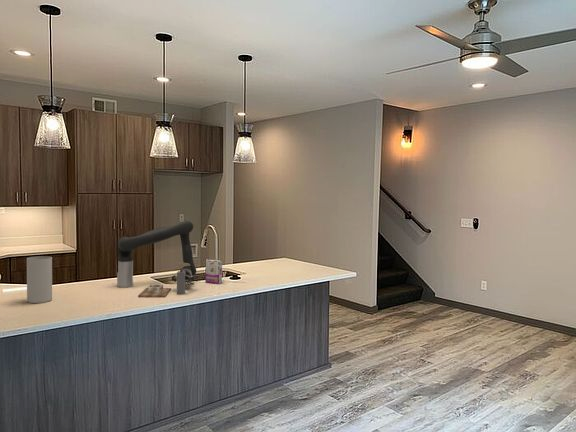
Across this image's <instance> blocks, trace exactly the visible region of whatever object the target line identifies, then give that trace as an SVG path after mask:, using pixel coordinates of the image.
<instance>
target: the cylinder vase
mask: <svg viewBox="0 0 576 432" xmlns="http://www.w3.org/2000/svg"><path fill="white" fill-rule="evenodd" d="M52 300H53V257H52V256H48V255H45V256H44V255H41V256H40V255H39V256H29V257H27V258H26V301H27V303H29V304H44V303H48V302H51V301H52Z"/></svg>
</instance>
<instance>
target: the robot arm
mask: <svg viewBox="0 0 576 432" xmlns="http://www.w3.org/2000/svg"><path fill="white" fill-rule="evenodd" d="M193 230H194V224H193V223H192V222H191V221H189V220H183V221H180V222H179V223H176V224H174V225H168V226H162V227H158V228H153V229H150V230H148V231H146V232H144V233H142V234H139V235H137V236H136V235H135V236H131V237H127V236H123V237H120V238H119V239H118V241H117V259H118V260H117V263H118V265H117V269H118V270H117V273H116V276H117V279H116V281H117V282H116V284H117V285H116V287H117V288H131V287H133V285H134V283H133V282H134V280H133V279H134V273H133V272H134V271H133V270H134V257H133V250H135V249H137V248H139V247H143V246H147V245H152V244H156V243H159V242H162V241H165V240H168V239H171V238H174V237H176V236H179V239H180V242H181V253H182V261H183V263H185V264H188V265H185V266H181V267H182V271H185V283H190V282H194V281H195V275H196V274H197V268H196V266H195V262H194V257H193V256H194V255H193V248H192V245H191V241H190V233H191V232H192V231H193ZM171 281H172V282H174V283H177V275H175V274H174V275H172V276H171Z"/></svg>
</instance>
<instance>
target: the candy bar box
mask: <svg viewBox="0 0 576 432" xmlns="http://www.w3.org/2000/svg"><path fill="white" fill-rule="evenodd" d="M222 283H223V260H219V259H206V260H205V284H212V285H213V284H214V285H220V284H222Z"/></svg>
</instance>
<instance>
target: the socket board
mask: <svg viewBox="0 0 576 432" xmlns="http://www.w3.org/2000/svg"><path fill="white" fill-rule="evenodd" d="M170 290H172V288H171V287H164V284H149V285H148V286H147V287H145V288H144V289H143V290H142V291H141V292H140V293H139V294H138V296H137V297H138V298H166V297H167V296H168V294H169V293H170V292H171V291H170Z"/></svg>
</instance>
